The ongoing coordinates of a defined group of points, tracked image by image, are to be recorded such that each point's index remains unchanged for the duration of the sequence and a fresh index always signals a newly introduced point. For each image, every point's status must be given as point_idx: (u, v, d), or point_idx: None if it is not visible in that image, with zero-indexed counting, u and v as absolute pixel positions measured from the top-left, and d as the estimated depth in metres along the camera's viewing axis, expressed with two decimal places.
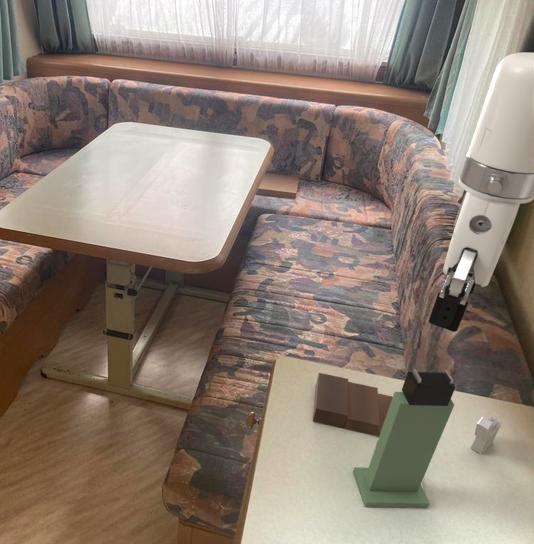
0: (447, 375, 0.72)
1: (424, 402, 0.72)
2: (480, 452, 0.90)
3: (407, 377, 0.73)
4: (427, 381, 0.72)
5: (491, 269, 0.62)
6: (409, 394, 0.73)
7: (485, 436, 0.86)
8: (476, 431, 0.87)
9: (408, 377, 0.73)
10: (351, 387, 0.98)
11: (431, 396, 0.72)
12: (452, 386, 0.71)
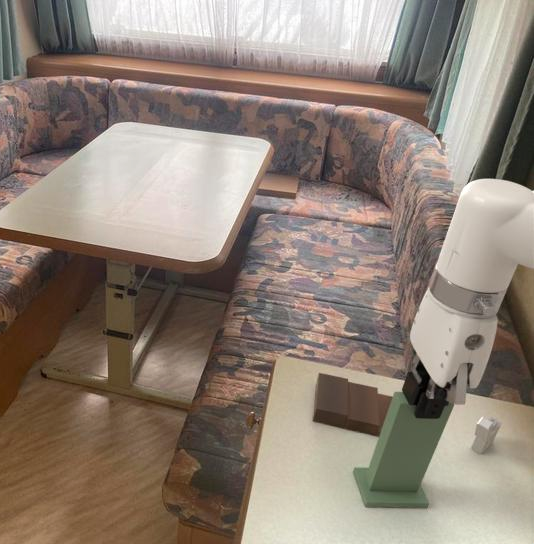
0: None
1: None
2: (480, 452, 0.90)
3: (407, 377, 0.73)
4: (427, 381, 0.72)
5: None
6: (409, 394, 0.73)
7: (485, 436, 0.86)
8: (476, 431, 0.87)
9: (408, 377, 0.73)
10: (351, 387, 0.98)
11: None
12: None
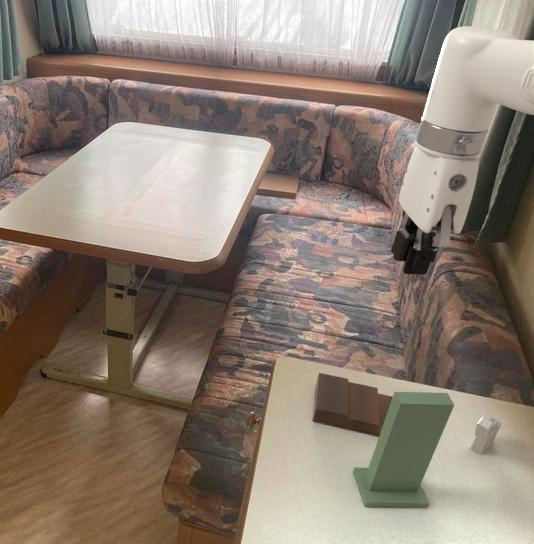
0: None
1: None
2: (480, 452, 0.90)
3: (396, 236, 0.78)
4: (415, 237, 0.77)
5: (465, 217, 0.71)
6: (398, 251, 0.78)
7: (485, 436, 0.86)
8: (476, 431, 0.87)
9: (397, 236, 0.78)
10: (351, 387, 0.98)
11: None
12: None
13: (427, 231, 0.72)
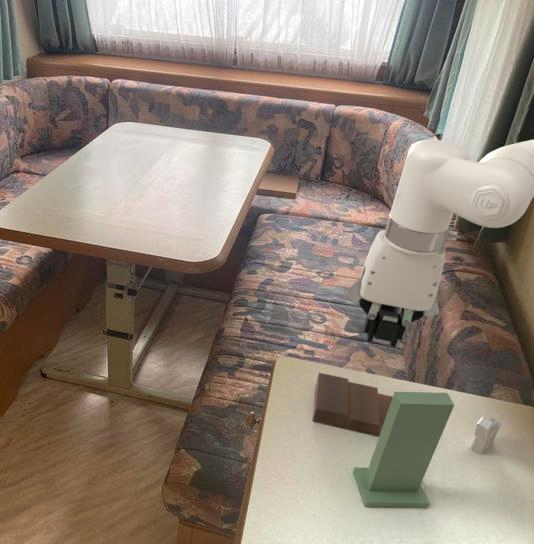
0: None
1: None
2: (480, 452, 0.90)
3: (381, 325, 0.84)
4: (391, 316, 0.85)
5: None
6: (390, 335, 0.84)
7: (485, 436, 0.86)
8: (476, 431, 0.87)
9: (383, 324, 0.84)
10: (351, 387, 0.98)
11: None
12: (396, 307, 0.87)
13: (428, 309, 0.82)
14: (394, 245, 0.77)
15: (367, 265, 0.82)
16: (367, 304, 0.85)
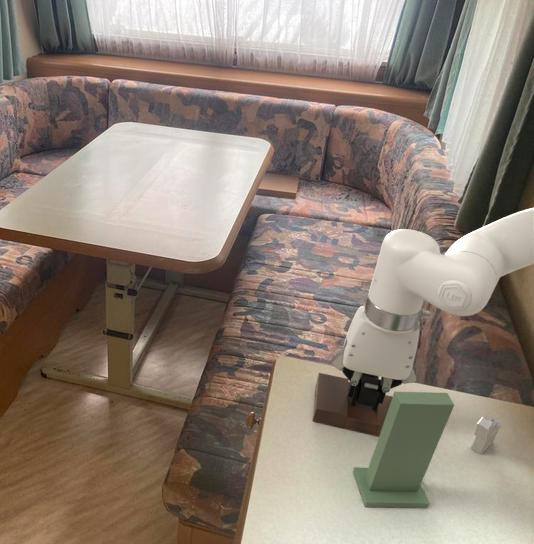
0: None
1: None
2: (480, 452, 0.90)
3: (362, 392, 0.91)
4: (372, 383, 0.92)
5: None
6: (371, 401, 0.91)
7: (485, 436, 0.86)
8: (476, 431, 0.87)
9: (364, 391, 0.91)
10: None
11: None
12: None
13: (406, 378, 0.88)
14: (372, 323, 0.84)
15: (348, 338, 0.88)
16: (350, 372, 0.92)
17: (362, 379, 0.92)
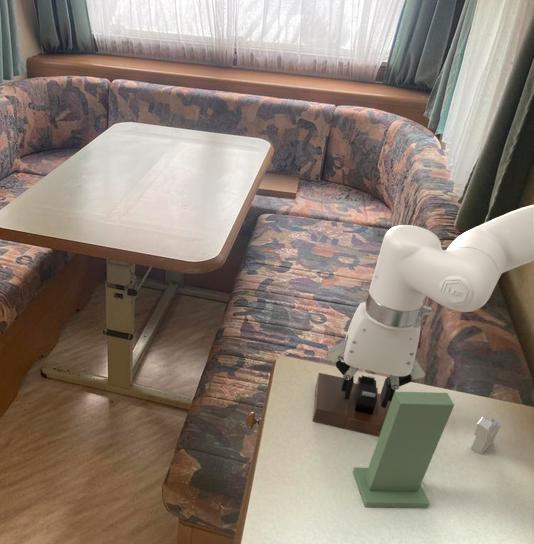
0: (368, 377, 0.94)
1: None
2: (480, 452, 0.90)
3: (360, 400, 0.92)
4: (370, 391, 0.93)
5: None
6: (369, 408, 0.92)
7: (485, 436, 0.86)
8: (476, 431, 0.87)
9: (362, 399, 0.91)
10: None
11: None
12: (374, 381, 0.95)
13: (407, 375, 0.88)
14: (373, 320, 0.84)
15: (349, 335, 0.88)
16: (343, 366, 0.91)
17: (360, 387, 0.93)
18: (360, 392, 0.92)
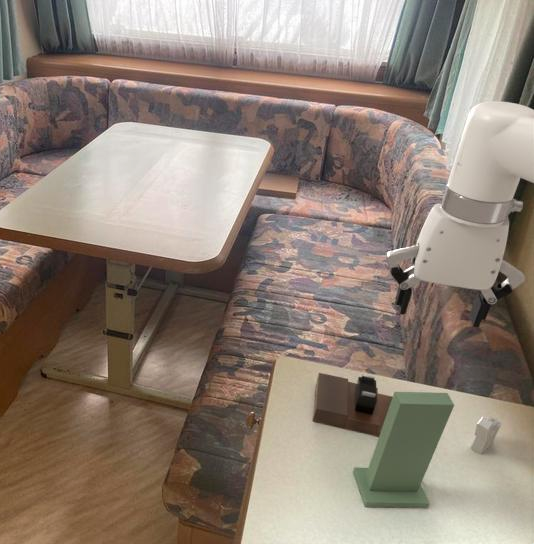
0: (368, 377, 0.94)
1: None
2: (480, 452, 0.90)
3: (360, 400, 0.92)
4: (370, 391, 0.93)
5: None
6: (369, 408, 0.92)
7: (485, 436, 0.86)
8: (476, 431, 0.87)
9: (362, 399, 0.91)
10: (351, 387, 0.98)
11: None
12: (374, 381, 0.95)
13: (489, 287, 0.75)
14: (453, 217, 0.71)
15: (422, 242, 0.76)
16: (399, 273, 0.79)
17: (360, 387, 0.93)
18: (360, 392, 0.92)
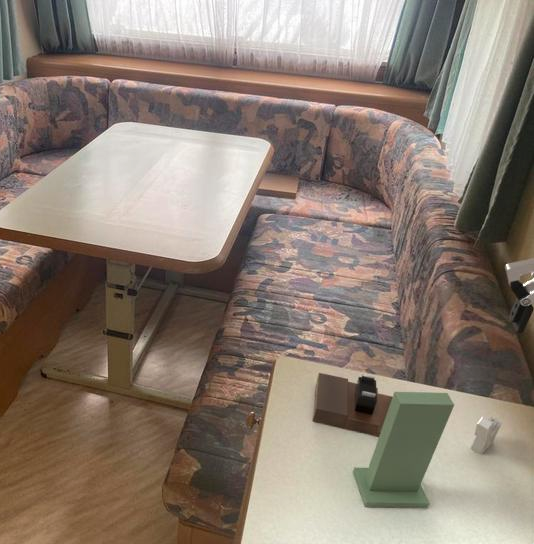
0: (368, 377, 0.94)
1: None
2: (480, 452, 0.90)
3: (360, 400, 0.92)
4: (370, 391, 0.93)
5: None
6: (369, 408, 0.92)
7: (485, 436, 0.86)
8: (476, 431, 0.87)
9: (362, 399, 0.91)
10: (351, 387, 0.98)
11: None
12: (374, 381, 0.95)
13: None
14: None
15: None
16: (521, 287, 0.70)
17: (360, 387, 0.93)
18: (360, 392, 0.92)
